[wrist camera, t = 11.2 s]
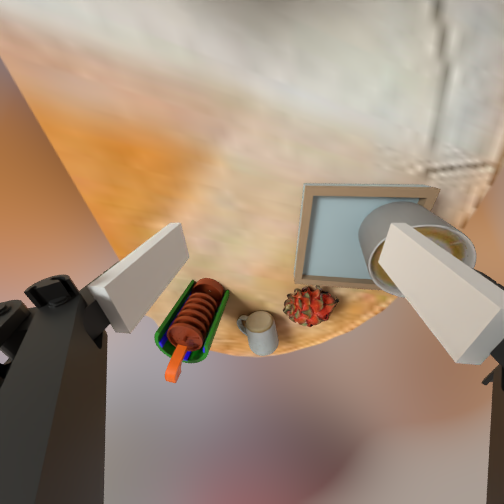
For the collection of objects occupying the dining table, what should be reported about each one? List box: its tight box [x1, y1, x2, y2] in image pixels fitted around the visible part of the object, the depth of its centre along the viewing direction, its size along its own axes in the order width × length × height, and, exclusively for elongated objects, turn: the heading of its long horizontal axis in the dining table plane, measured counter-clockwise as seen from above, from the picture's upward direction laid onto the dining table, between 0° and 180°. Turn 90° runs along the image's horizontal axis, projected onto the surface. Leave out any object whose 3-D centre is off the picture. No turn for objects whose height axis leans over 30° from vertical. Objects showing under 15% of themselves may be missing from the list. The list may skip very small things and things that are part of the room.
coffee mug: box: [358, 201, 476, 298], centre depth 27 cm, size 13×10×10 cm
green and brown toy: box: [155, 278, 229, 383], centre depth 40 cm, size 10×9×20 cm
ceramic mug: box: [237, 311, 279, 356], centre depth 48 cm, size 11×8×8 cm
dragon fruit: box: [283, 285, 339, 327], centre depth 42 cm, size 8×8×12 cm
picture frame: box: [294, 183, 440, 290], centre depth 34 cm, size 18×18×6 cm
